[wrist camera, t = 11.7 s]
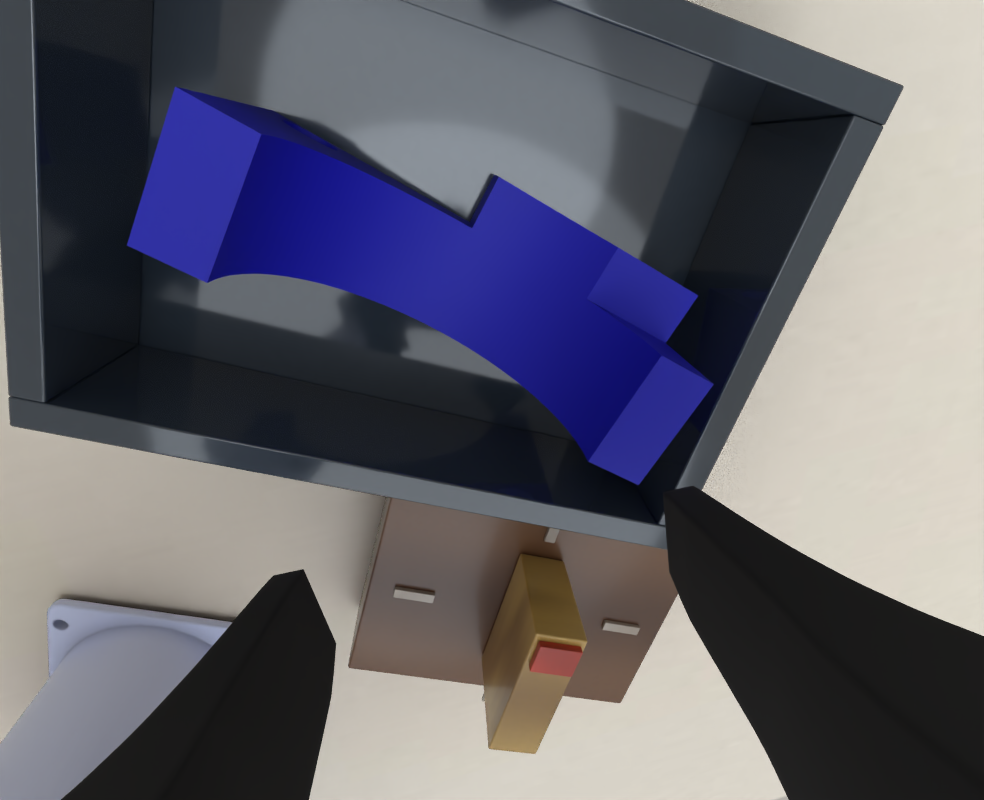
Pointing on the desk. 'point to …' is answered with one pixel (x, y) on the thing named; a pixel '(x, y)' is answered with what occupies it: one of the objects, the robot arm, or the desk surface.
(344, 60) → the grey open box
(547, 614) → the yellow box red patch
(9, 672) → the desk surface
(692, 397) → the cable clip
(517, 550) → the block
